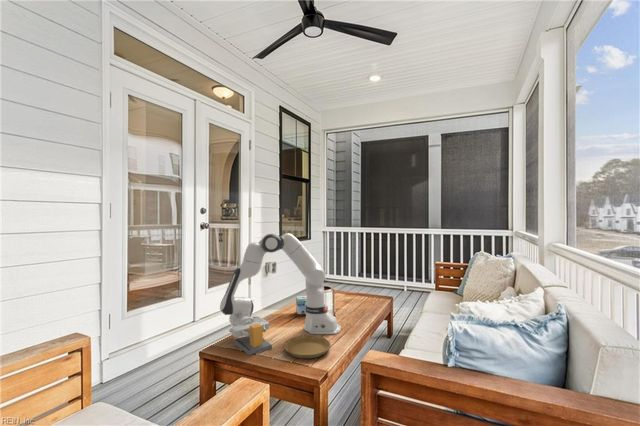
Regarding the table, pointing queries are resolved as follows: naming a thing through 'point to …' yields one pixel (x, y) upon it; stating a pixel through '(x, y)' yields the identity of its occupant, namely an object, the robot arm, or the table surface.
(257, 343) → the tall orange brick
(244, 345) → the plate
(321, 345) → the plant saucer
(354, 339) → the table surface
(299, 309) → the light bulb box
